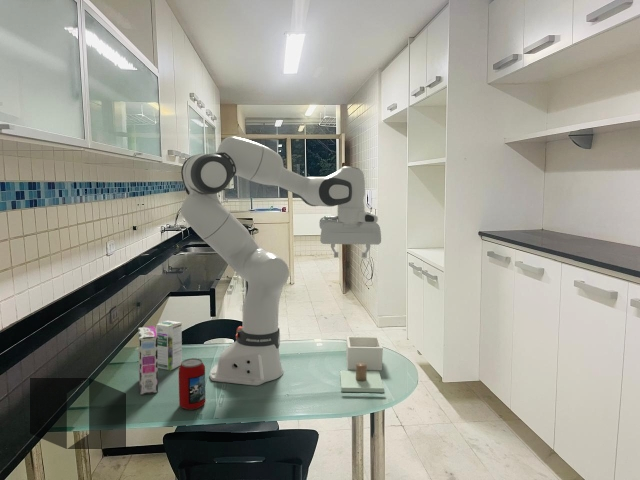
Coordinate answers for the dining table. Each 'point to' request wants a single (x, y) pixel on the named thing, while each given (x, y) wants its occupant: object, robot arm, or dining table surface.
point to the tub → (364, 352)
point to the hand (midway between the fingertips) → (350, 257)
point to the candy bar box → (148, 360)
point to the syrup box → (169, 344)
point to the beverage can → (191, 383)
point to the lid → (361, 380)
